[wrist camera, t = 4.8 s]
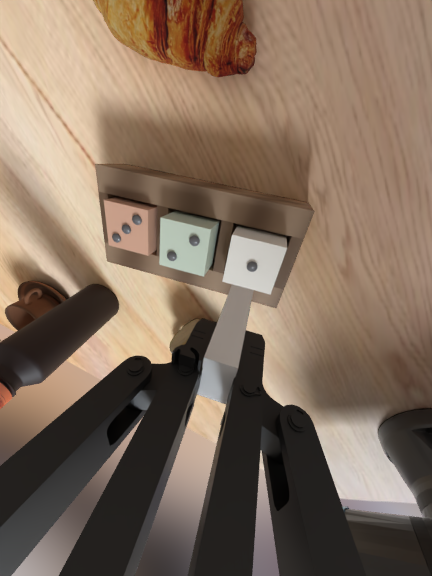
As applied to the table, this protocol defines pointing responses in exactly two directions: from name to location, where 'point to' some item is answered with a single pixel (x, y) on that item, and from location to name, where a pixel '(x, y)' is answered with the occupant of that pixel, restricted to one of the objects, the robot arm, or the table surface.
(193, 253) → the two pip tile
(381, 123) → the table surface
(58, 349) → the bottle
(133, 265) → the wooden tile tray
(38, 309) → the cup and saucer
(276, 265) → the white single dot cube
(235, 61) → the croissant
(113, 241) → the three pip tile
